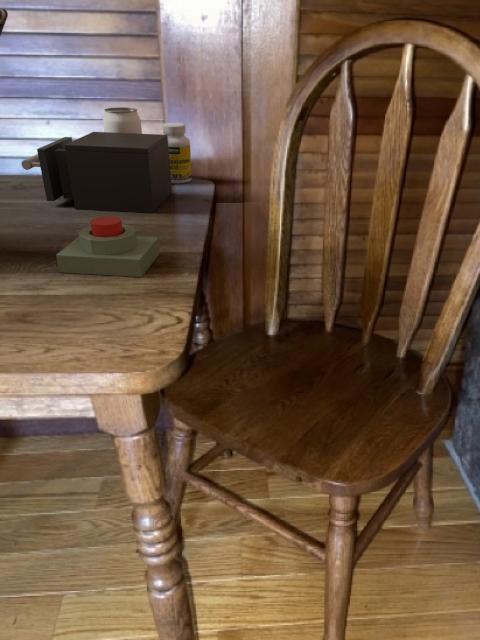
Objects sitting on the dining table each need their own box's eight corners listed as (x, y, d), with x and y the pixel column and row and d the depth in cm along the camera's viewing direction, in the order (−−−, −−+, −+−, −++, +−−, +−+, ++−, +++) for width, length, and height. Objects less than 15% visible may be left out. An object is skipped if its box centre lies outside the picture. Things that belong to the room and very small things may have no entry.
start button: (87, 238, 68) (85, 224, 67) (98, 229, 71) (96, 215, 70) (117, 240, 67) (115, 225, 66) (127, 230, 70) (125, 216, 69)
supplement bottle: (166, 185, 103) (162, 127, 98) (159, 178, 108) (155, 122, 102) (195, 183, 105) (192, 126, 100) (187, 176, 110) (184, 121, 104)
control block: (59, 272, 68) (53, 240, 66) (84, 249, 75) (79, 219, 72) (141, 277, 67) (137, 244, 65) (159, 253, 74) (157, 223, 72)
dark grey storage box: (75, 209, 90) (64, 144, 85) (101, 190, 99) (92, 131, 94) (153, 213, 89) (147, 148, 84) (172, 193, 99) (167, 134, 94)
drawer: (21, 199, 90) (10, 147, 86) (49, 183, 99) (40, 135, 95) (117, 204, 89) (111, 152, 85) (137, 187, 98) (132, 139, 94)
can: (121, 185, 102) (112, 113, 96) (104, 178, 106) (95, 108, 100) (153, 180, 106) (146, 110, 100) (135, 174, 110) (128, 106, 104)
